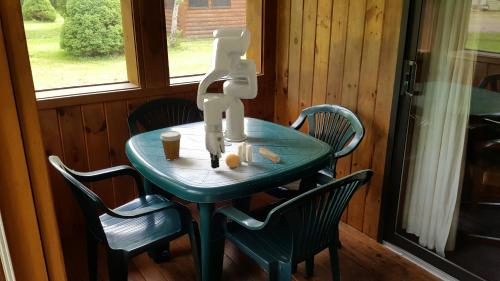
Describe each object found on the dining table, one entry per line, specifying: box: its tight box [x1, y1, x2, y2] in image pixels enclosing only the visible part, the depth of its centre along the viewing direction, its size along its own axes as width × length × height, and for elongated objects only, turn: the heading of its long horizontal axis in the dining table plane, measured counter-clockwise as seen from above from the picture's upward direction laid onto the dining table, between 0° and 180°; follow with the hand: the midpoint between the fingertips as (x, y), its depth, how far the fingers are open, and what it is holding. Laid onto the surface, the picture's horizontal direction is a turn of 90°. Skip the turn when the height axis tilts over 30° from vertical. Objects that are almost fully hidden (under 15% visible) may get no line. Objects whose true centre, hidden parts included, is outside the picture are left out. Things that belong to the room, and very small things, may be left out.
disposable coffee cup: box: [159, 130, 182, 161], centre depth 189 cm, size 10×10×12 cm
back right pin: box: [246, 144, 253, 167], centre depth 181 cm, size 2×2×9 cm
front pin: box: [236, 144, 243, 167], centre depth 181 cm, size 2×2×9 cm
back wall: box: [258, 146, 280, 164], centre depth 189 cm, size 2×14×3 cm, turn 31°
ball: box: [225, 153, 239, 169], centre depth 179 cm, size 6×6×6 cm
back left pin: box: [241, 141, 247, 163], centre depth 185 cm, size 2×2×9 cm
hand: (215, 167), depth 176 cm, fingers closed
